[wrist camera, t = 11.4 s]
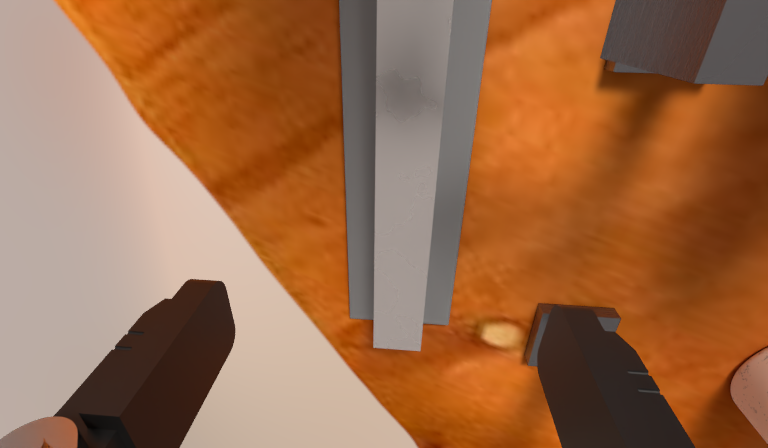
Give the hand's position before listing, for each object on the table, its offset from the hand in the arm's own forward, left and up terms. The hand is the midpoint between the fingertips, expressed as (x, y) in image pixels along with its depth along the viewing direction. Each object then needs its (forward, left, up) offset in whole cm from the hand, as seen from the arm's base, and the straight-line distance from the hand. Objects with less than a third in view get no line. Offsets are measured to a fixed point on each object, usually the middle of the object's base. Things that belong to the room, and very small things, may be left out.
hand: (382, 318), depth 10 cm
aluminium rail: (0, 0, -13) cm, 13 cm away
